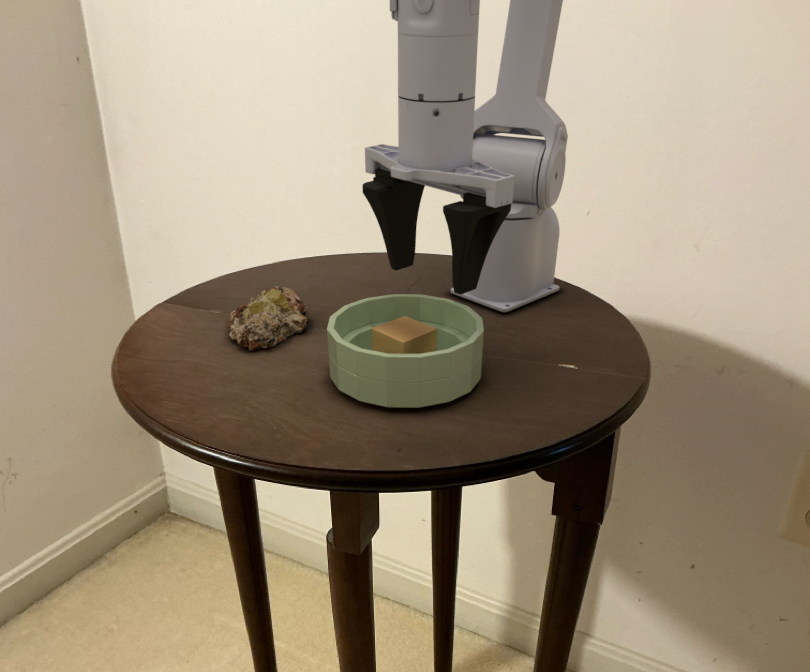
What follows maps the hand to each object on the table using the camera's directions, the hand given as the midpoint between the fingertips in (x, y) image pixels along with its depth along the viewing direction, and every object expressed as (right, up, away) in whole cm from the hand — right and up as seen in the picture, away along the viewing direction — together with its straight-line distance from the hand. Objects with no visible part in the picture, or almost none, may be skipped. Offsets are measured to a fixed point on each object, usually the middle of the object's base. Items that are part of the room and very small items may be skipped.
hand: (432, 278), depth 65 cm
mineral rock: (-16, -1, +11) cm, 20 cm away
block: (-2, -7, +3) cm, 8 cm away
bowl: (-2, -8, +3) cm, 9 cm away
